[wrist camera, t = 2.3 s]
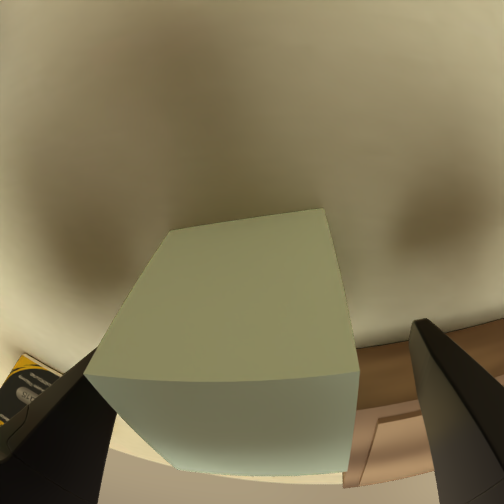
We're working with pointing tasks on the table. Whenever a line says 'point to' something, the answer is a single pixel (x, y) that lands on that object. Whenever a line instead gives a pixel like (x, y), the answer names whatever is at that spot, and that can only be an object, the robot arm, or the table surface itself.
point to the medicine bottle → (24, 386)
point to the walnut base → (404, 407)
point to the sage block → (237, 350)
